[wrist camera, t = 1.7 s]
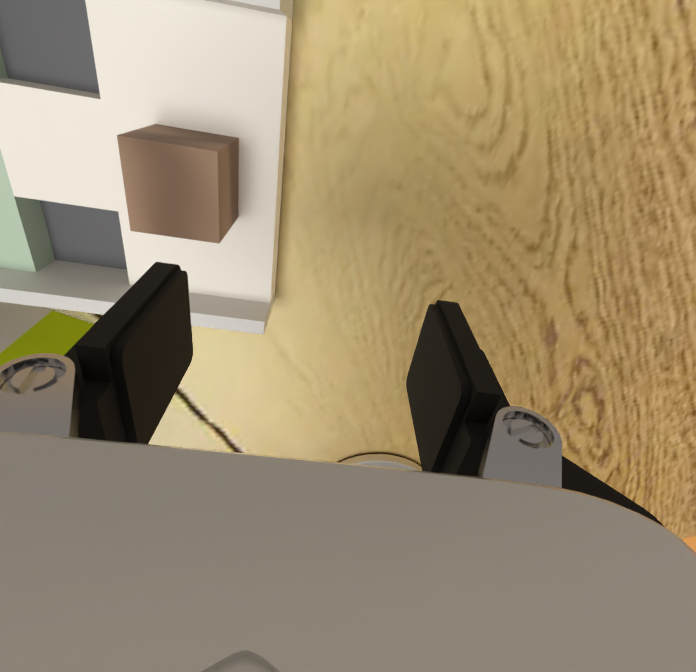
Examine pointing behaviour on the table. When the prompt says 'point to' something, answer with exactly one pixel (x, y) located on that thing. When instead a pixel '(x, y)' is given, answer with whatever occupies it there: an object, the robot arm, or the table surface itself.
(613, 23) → the table surface
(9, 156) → the tray
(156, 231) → the walnut block
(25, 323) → the puzzle toy
